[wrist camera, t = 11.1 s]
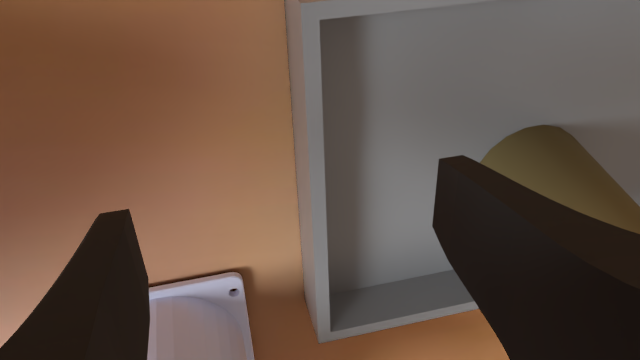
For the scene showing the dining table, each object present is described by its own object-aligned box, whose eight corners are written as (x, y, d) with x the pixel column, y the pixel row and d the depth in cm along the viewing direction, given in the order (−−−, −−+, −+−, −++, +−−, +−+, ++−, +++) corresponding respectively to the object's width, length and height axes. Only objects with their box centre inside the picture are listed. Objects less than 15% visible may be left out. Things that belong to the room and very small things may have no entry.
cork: (576, 209, 30) (764, 377, 21) (470, 245, 29) (615, 435, 20) (584, 108, 26) (813, 257, 17) (464, 147, 26) (635, 321, 17)
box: (670, 225, 33) (711, 257, 31) (304, 299, 29) (318, 343, 27) (782, -68, 24) (852, -55, 22) (282, -20, 20) (300, 3, 18)
